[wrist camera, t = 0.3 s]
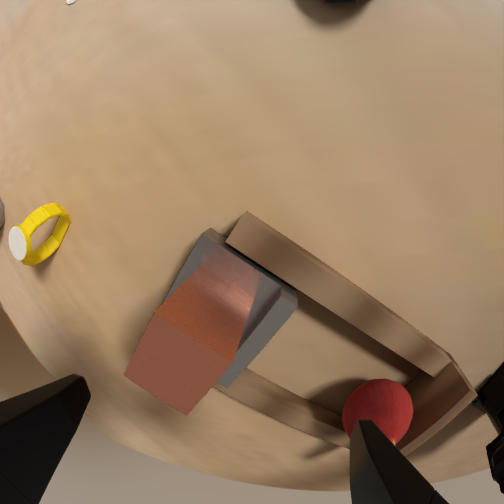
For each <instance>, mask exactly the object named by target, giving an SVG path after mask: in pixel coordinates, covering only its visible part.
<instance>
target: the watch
mask: <svg viewBox="0 0 504 504" xmlns="http://www.w3.org/2000/svg"><path fill="white" fill-rule="evenodd" d="M56 216H60V217H59V219H58V222H57V224H56V226H55V229H54V231H53V234H52V235H51V236H50V237H49V238H48V239H47V241H46V242H45V243H44V244H43V245H41V246H40V247H38V248H37V249H36V250H34V251H32V252H31V238H30V237H31V236H32V234H33V233H34V232H35V230H36V229H37V228H38V227H39V226H41V225H42V224H43V223H45V222H46V221H47V220H48V219H51V218H53V217H56ZM69 224H71V220H70V217H69V214H68V213H67V212H66V211H65V210H64V208H63V207H62V206H61V205H59V204H56V203H50V204H47V205H44V206H41V207H39V208H38V209H37V210H35V211H34V212H33V213H31V214H30V215H29V217H27V218H26V219H25V221H24V222H23V223H22V225H17V226H14V227H12V228H11V230H10V233H9V246H10V249H11V252H12V254H13V256H14V257H15V258H16V259H18V260H21V262H22V263H23V264H24V265H29V266H33V265H35V264H38V263H41V262H42V261H44V260H45V259H46V258H48V257H49V256H50V255H51V254H53V253H54V251H55V250H56V249H57V248H58V247H59V246H60V245H61V242H62V240H63V237H64V235H65V233H66V231H67V228H68V226H69Z"/></svg>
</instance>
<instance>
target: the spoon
mask: <svg viewBox="0 0 504 504" xmlns="http://www.w3.org/2000/svg"><path fill="white" fill-rule="evenodd" d="M76 1H77V0H67V4H73V3H75V2H76Z"/></svg>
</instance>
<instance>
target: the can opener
mask: <svg viewBox="0 0 504 504" xmlns="http://www.w3.org/2000/svg"><path fill="white" fill-rule="evenodd" d="M324 1H325V2H327V3H353V4H354V3H355V2H356V0H324Z"/></svg>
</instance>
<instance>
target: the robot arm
mask: <svg viewBox="0 0 504 504" xmlns="http://www.w3.org/2000/svg"><path fill="white" fill-rule="evenodd" d="M477 395H478V396H477V397H476V398H475V399H474V400H473V401H472V402H471V403H472V405H474V406H475V407H477V408H479V409H480V410H482V411H484V412H485V413H486V414H487V415H488V417H489V419H490V420H491V422H492V424H493V426H494V427H495V429H496V431H497V433H498V436H497V437H496V438H495V439H494V440H493V441H492V442H491V443H489V444H488V445H487V446H486V450H487V456H488V460H489V464H490V469H491V473H492V477H493V480H494V481H496V482H497V483H498V484H499V485H500V491H501V493H503V494H504V364H503V366H502V367H501V368H500V369H499V370H498V372H497V373H496V374H495V375H494V376H493V377H492V378H491V380H490V381H489V382H488V383H487V384H486V385H485V386H484V387H483V388H482V389H481V390H480V391H479V392H478V393H477ZM90 397H91V394H90V391H89V388H88V386H87V383H86V380H85V378H84V377H82V376H80V375H77V374H72V375H69V376H67V377H64V378H62V379H59V380H57V381H54V382H52V383H50V384H47V385H44V386H42V387H39V388H36V389H34V390H31V391H29V392H26V393H23V394H21V395H18V396H15V397H13V398H10V399H7V400H5V401H2V402H0V504H39V502H40V500H41V498H42V496H43V494H44V492H45V490H46V488H47V486H48V484H49V482H50V480H51V477H52V476H53V474H54V472H55V470H56V468H57V466H58V464H59V462H60V460H61V458H62V456H63V454H64V453H65V451H66V449H67V447H68V445H69V443H70V442H71V439H72V438H73V436H74V434H75V432H76V430H77V428H78V426H79V424H80V421H81V419H82V417H83V414H84V412H85V410H86V407H87V405H88V403H89V401H90ZM350 490H351V499H352V504H449V503H448V502H447V501H446V500H445V499H444V498H443V497H442V496H441V495H440V494H439V493H438V492H437V491H436V490H434V488H433V487H432V486H431V485H430V483H429V482H428V481H427V480H426V479H425V478H424V477H423V476H422V475H421V474H420V473H419V472H418V470H417V469H416V468H415V467H414V466H413V465H412V464H411V463H410V462H409V461H408V459H407V458H406V457H405V456H404V455H403V454H402V453H401V452H400V451H399V450H398V448H397V447H396V446H395V445H394V444H393V443H392V442H391V441H390V440H389V438H388V437H387V436H386V435H385V434H384V433H383V432H382V431H381V429H380V428H379V427H378V426H377V425H376V424H375V423H374V422H373V421H372V420H371V419H359V420H358V421H357V422H356V424H355V427H354V429H353V431H352V434H351V436H350Z"/></svg>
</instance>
